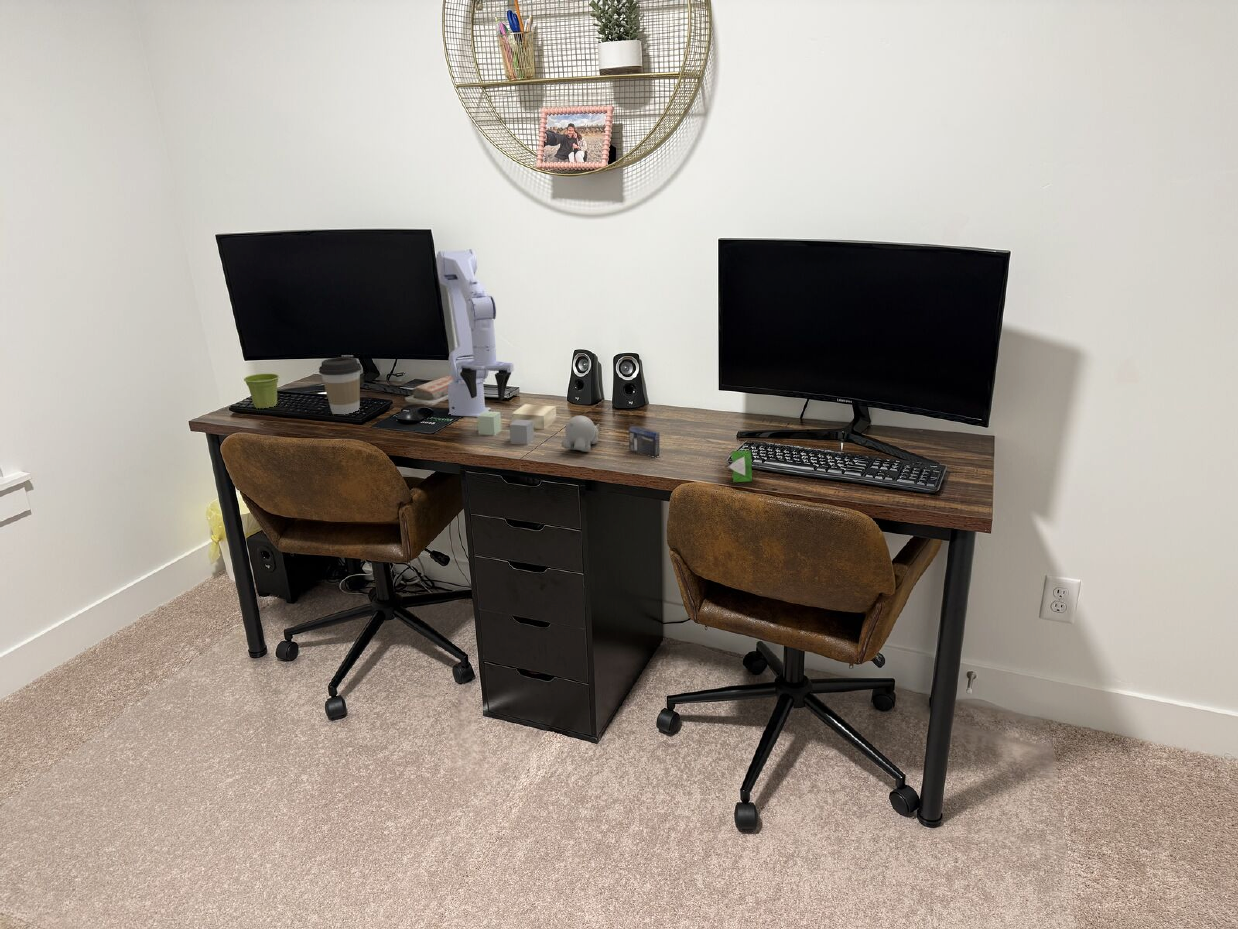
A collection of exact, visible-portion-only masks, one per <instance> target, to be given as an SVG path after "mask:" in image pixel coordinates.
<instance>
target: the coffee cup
mask: <svg viewBox="0 0 1238 929" xmlns="http://www.w3.org/2000/svg"><path fill="white" fill-rule="evenodd" d="M318 370H319V371H318V373H319V374H321V378H322V381H323V385H324V390H325V393H326V396H327V399H328V400H327V401H328V403H329V407H330V411H331V413H332V415H333V414H349V413H353V412H355V411H358V410H359V411H360V409H361V408H360V402H361V399H360V393H361V391H360V387H361V385H360V384H361V383H360V382H361V379H360V378H361V376H360V375H361V374H360V373H361V372H360V371H361V370H362V366H361V364H360V363H359V362H358V360H357V359H356V358H355V357H351V356H338V357H333V358H327V359H325V360H322V361H321V364H320V366H319V368H318ZM359 408H360V409H359Z"/></svg>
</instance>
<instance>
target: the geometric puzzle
mask: <svg viewBox="0 0 1238 929" xmlns="http://www.w3.org/2000/svg"><path fill="white" fill-rule="evenodd" d="M754 457H755V455H754V454H753V452H752V449H750V450H736V451H735V450H731V452H730V454H729V459H731V458H732V459H731V460H732V461H731V460H727V461H726V463H727V464H726V466H724V468H725V469H726V471H728V470H729V471H728V472H729V475H730V478H731V481H732V483H740V482H742V483H743V482H753V480H754V479H753V478H754V477H753V476H755V475H756V474H757V472H758V470H756V468H757V469H758V467H759V466H760V464H758V462H757V461H754ZM752 459H753V460H752ZM728 461H729V462H728ZM730 461H731V462H730ZM752 462H753V466H752ZM756 462H757V463H756ZM752 469H753V470H752ZM755 470H756V471H755ZM754 471H755V472H754ZM731 472H732V473H731ZM752 473H753V474H752Z"/></svg>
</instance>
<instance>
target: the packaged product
mask: <svg viewBox="0 0 1238 929" xmlns="http://www.w3.org/2000/svg"><path fill="white" fill-rule="evenodd" d="M452 381H453V380H452V379H451V376H450V375H446V376H442V377H440V378H436V379H434V380H431V381H428V382H425V383H423V384H420V385H417V386H415V387H413V388H412V395H409V396H407V397H405V398H404V401H405V402H406V403H410V404H411V403H412V404H417V405H418V404H419V405H426V406H434V405H436V404H439V403H442V402H444V401H447V400H448V387H449V384H450V383H451V382H452Z"/></svg>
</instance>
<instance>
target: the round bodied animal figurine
mask: <svg viewBox="0 0 1238 929" xmlns="http://www.w3.org/2000/svg"><path fill="white" fill-rule="evenodd" d="M599 428H600V423H597V424H596V425H595V424H594V422H593V421H592V419H590V418H589V417H587V416H585V415H575V416H573V417H572V418H570V419H568V421H567V423H566V425H565V430H564V431H565V437H564V438H563V439H562V441H561V447H562V448H565V449H569V450H572V451H580V452H584V453H589V452H590V451H591V445H595V444H596V443H598V440H599V432H600V431H599Z"/></svg>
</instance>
